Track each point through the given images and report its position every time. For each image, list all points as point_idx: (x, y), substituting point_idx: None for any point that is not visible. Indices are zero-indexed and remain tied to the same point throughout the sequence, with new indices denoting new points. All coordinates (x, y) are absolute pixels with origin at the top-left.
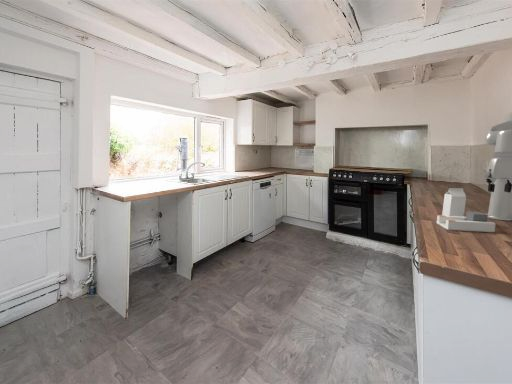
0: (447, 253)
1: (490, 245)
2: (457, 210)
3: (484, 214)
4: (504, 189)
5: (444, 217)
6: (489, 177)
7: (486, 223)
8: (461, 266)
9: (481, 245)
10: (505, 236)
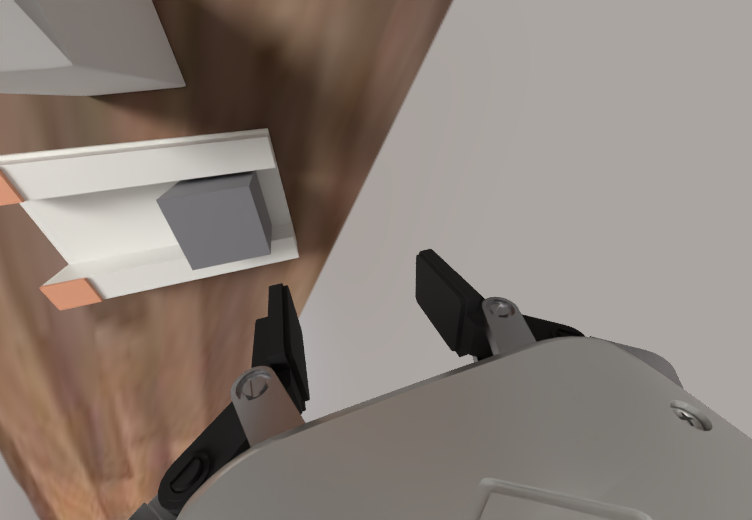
0: (105, 480)
1: (231, 382)
2: (89, 87)
3: (254, 253)
4: (426, 264)
5: (18, 200)
6: (260, 458)
7: (261, 263)
8: None
9: (205, 393)
10: (312, 279)
